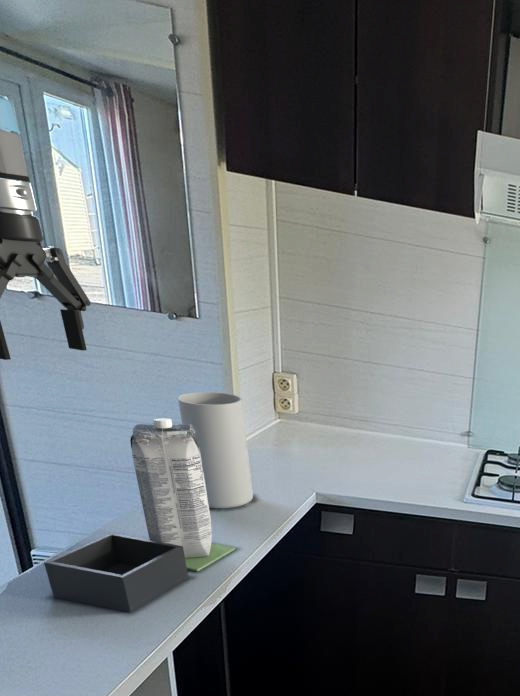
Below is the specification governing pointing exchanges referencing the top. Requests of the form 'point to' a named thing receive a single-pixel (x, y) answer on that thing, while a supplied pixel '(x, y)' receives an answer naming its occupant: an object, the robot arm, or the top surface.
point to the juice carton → (172, 485)
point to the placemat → (208, 557)
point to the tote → (117, 571)
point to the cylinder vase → (220, 445)
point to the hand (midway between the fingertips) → (41, 353)
